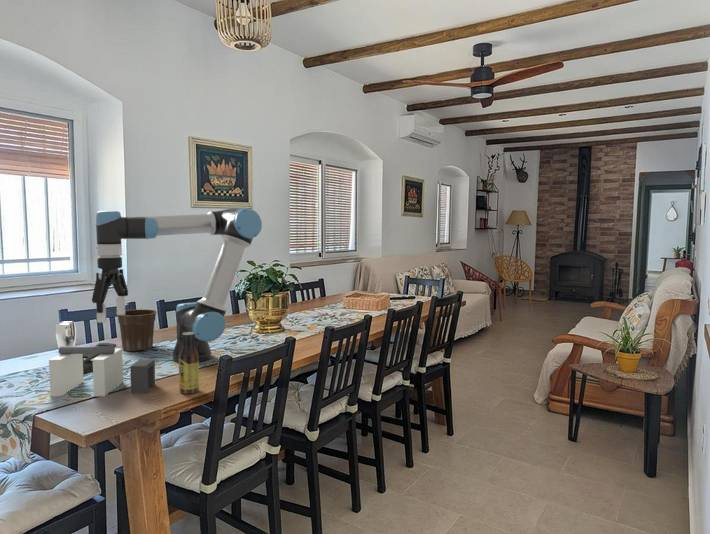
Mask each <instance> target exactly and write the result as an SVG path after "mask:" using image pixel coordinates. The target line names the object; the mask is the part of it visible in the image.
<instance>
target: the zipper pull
mask: <svg viewBox="0 0 710 534" xmlns="http://www.w3.org/2000/svg"><path fill="white" fill-rule="evenodd" d="M95 346H114V347H115V348H116V347H117V344H116V343H112V342H99V343H98V344H96V345H95ZM100 355H101V354H83V375H85V374H86V372H87V373H88V371H89V372H91V371H93V370H92V369H93V359H95V358H96V357H98V356H100ZM90 370H91V371H90ZM84 373H85V374H84Z"/></svg>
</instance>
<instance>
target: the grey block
mask: <svg viewBox="0 0 710 534" xmlns="http://www.w3.org/2000/svg"><path fill="white" fill-rule="evenodd" d="M155 364H156V362H155V359H153V358H152V359H150V358H148V359H147V358H145V359H143V358H142V359H139V360H136V362H134V363H133V364H131V365H130V371H129V372H130V393H131V394H147V393H148V392H149V387H155V386H156V368H155V367H156V365H155Z"/></svg>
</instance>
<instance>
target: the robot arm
mask: <svg viewBox="0 0 710 534" xmlns="http://www.w3.org/2000/svg"><path fill="white" fill-rule="evenodd" d="M262 228H263V223H262V219H261V216H260V215H259V213H258V212H257V211H256V210H254V209H252V208H247V207H240V208H239V207H238V208H235V207H233V208H227V209H222V210H215V211H213V210H212V211H208V212H207V213H206V214H205V213H204V214H203V213H201V214H181V215H179V214H178V215H155V216H154V215H153V216H122V215H121V212H120V211H118V210H117V211H116V210H115V211H114V210H110V211H109V210H99V211H97V213H96V217H95V229H96V230H95V231H96V251H97V253H96V254H97V256H98V257H97V258H96V259H97V263H96V264H97V268H98V269H101V272H96V274H95V275H96V276H95V277H96V278H95V284H94V288H93V293H92V298H91V302H92V303H93V304H96V307H95V308H96V323H107V305H106V303H107V302H105V300H106V297H107V295H108V291H109V289H110V287H111V286H112V287H113V289H114V291H115V293H116V294H117V296H116V298H115V299H116V300H115V301H116V313H117V315H125V311H126V297H128V296H129V289H128V286H127V283H126V279H125V276H124V275H125V274H124V269H123V268H122V267H123V257H121V256H123V250H122V249H123V248H122V239H123V240H128V239H130V240H137V239H138V240H140V239H141V240H143V239H144V240H149V239H156V238H157V237H160V236H161V237H163V236H176V235H177V236H178V235H179V236H180V235H191V234H207V233H208V234H209V235H211V236H215V235H216V236H222V239H223V243H222V245H221V248H220V252H219V253H218V256H217V259H216V262H215V265H214V267H213V269H212V273H211V275H210V277H209V280H208V283H207V285H206V288H205V292H204V293H203V296H202V298H201V299H199V300H197V301H196V302H186V303H179V304H177V305H176V307H175V308H176V309H175V316H176V320H175V323H176V342H175V345H174V349H173V352H172V361H173V362H175V363H179V355H180V352H181V349H182V345H183V338H182V333H185V332H194V333H195V339H194V340H195V348H196V349H197V351H198V360H199V363H201V361H202V362H205V360H206V361H208V360H210V359H212V349H211V347H210V344H209V342H213V341H215V340H217V339H219V338H220V337H221V336H222V335H223V333H224V332H225V329H226V327H227V326H226V319H225V316H226V312H227V309H226V306H225V304H226V301H227V298H228V296H229V293H230V290H231V288H232V285H233V282H234V280H235V277H236V274H237V271H238V268H239V266H240V263H241V260H242V257H243V255H244V252H245V250H246V248H248V247H251V244H252V242H253V238H256V237H257V236H259V234H260V233H261V232H262ZM117 315H116V316H117Z"/></svg>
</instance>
